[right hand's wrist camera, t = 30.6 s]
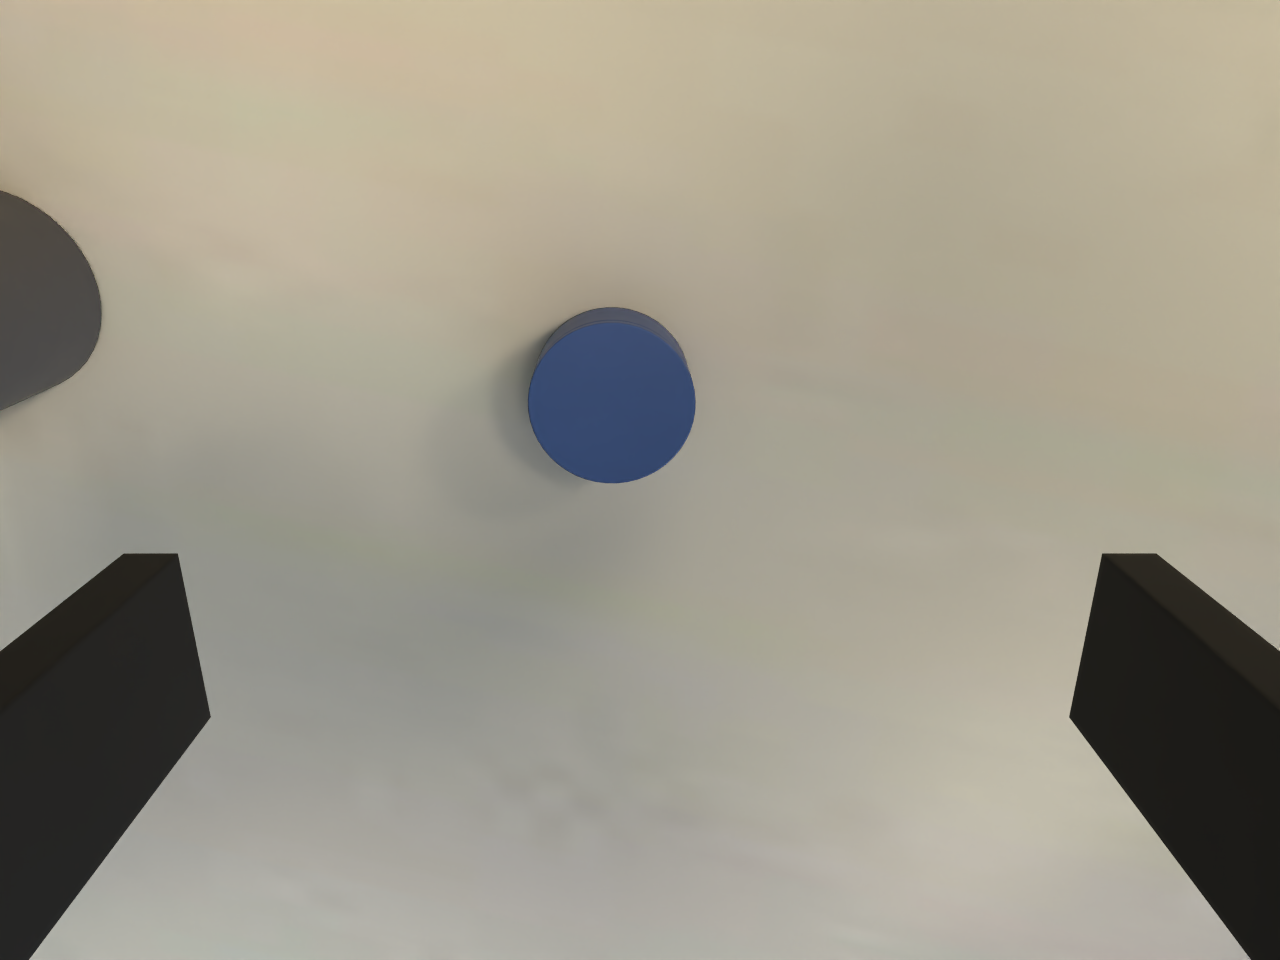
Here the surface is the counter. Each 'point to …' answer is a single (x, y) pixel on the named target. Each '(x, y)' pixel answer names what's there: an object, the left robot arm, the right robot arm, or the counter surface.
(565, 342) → the cap
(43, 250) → the bottle
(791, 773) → the counter surface
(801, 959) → the counter surface
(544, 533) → the counter surface
